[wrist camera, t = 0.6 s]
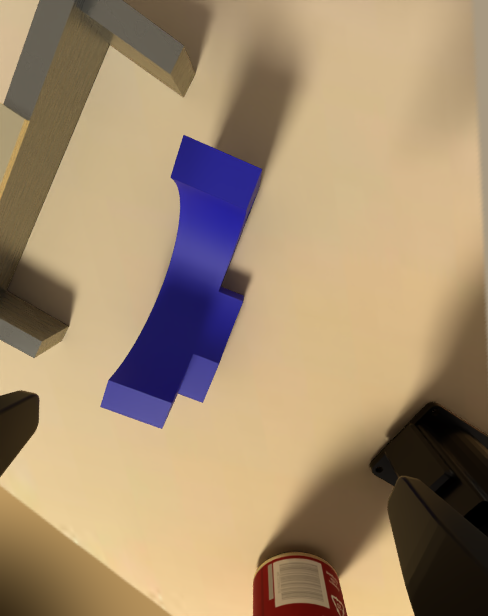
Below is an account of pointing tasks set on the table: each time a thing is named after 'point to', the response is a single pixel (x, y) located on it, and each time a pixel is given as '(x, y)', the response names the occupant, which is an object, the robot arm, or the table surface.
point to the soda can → (297, 587)
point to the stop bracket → (61, 125)
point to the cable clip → (189, 289)
